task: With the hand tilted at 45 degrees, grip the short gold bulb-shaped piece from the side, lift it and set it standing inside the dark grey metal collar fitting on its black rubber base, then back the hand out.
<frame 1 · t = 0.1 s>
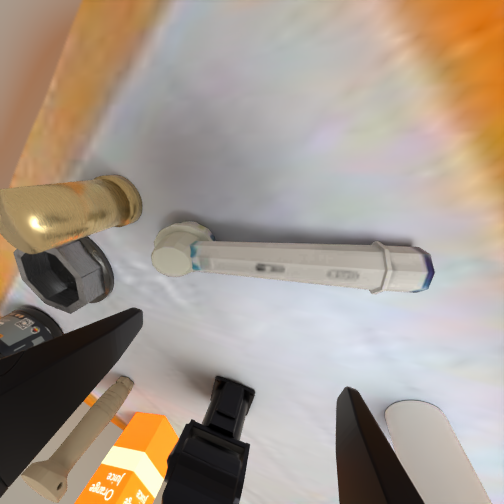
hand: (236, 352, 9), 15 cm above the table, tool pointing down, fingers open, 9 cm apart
collar fitting: (78, 265, 31), on the table
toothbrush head: (278, 247, 23), on the table
gold bulb-shaped piece: (121, 200, 25), on the table
orange juice: (159, 425, 46), on the table
spray bottle: (413, 415, 27), on the table
handle: (128, 380, 41), on the table
supplement container: (44, 326, 41), on the table
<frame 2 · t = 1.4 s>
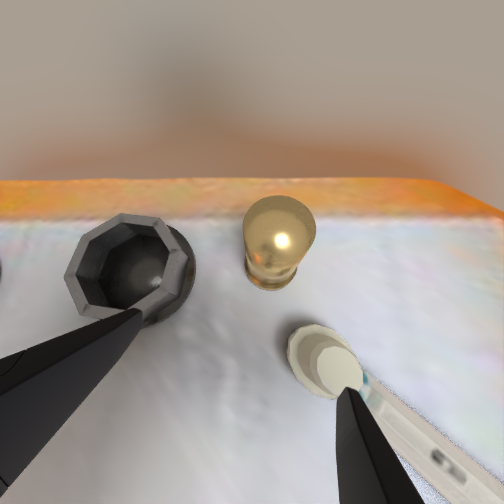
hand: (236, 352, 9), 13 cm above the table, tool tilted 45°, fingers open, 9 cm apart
collar fitting: (143, 272, 24), on the table
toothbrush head: (400, 431, 19), on the table
gold bulb-shaped piece: (270, 265, 24), on the table
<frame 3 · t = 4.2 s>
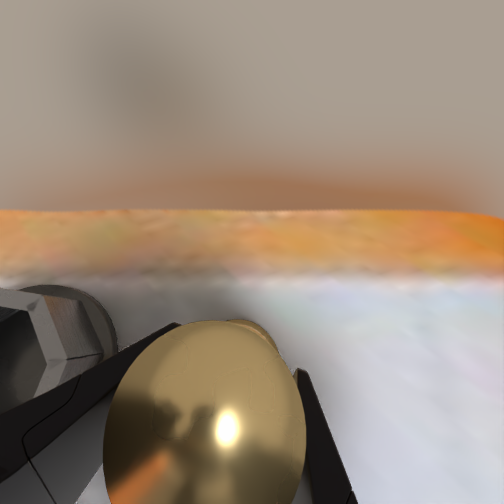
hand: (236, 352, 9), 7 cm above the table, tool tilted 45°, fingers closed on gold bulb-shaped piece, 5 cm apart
collar fitting: (30, 372, 15), on the table
gold bulb-shaped piece: (238, 362, 15), on the table, touching gripper
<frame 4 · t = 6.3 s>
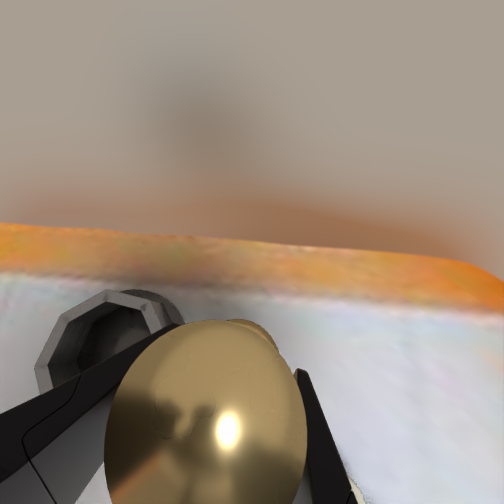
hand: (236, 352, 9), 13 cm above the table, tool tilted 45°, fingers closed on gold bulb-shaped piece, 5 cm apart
collar fitting: (128, 350, 21), on the table
gold bulb-shaped piece: (238, 362, 15), point 7 cm above the table, touching gripper
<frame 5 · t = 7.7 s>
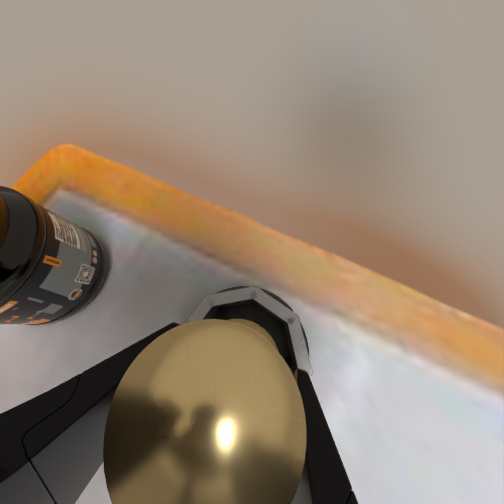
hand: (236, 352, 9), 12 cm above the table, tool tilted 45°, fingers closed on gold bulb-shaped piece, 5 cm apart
collar fitting: (243, 350, 20), on the table
gold bulb-shaped piece: (238, 361, 15), point 6 cm above the table, touching gripper
supplement container: (65, 274, 23), on the table
when the fingers open (8 cm above the table, at t = 8.9 s): gold bulb-shaped piece stays where it is, resting on collar fitting.
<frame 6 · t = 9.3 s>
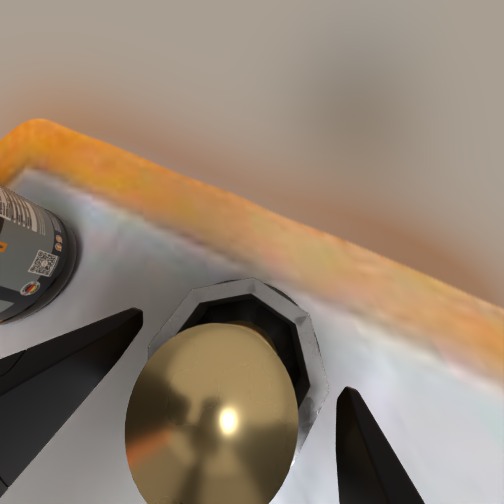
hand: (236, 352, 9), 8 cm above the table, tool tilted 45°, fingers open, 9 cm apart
collar fitting: (239, 358, 16), on the table
gold bulb-shaped piece: (239, 361, 16), point 1 cm above the table, touching collar fitting
supplement container: (27, 266, 19), on the table
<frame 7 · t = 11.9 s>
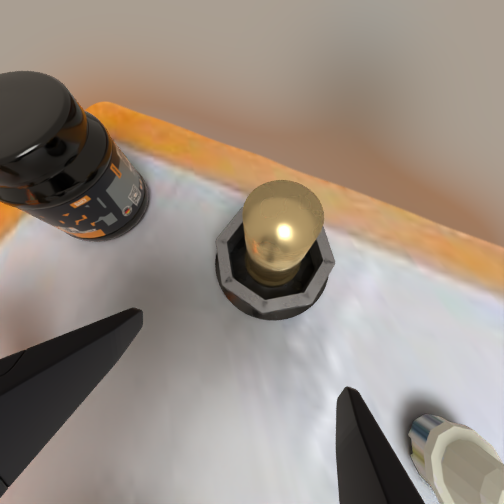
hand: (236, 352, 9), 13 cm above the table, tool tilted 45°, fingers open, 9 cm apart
collar fitting: (271, 263, 23), on the table
gold bulb-shaped piece: (271, 261, 22), point 1 cm above the table, touching collar fitting
supplement container: (110, 206, 26), on the table
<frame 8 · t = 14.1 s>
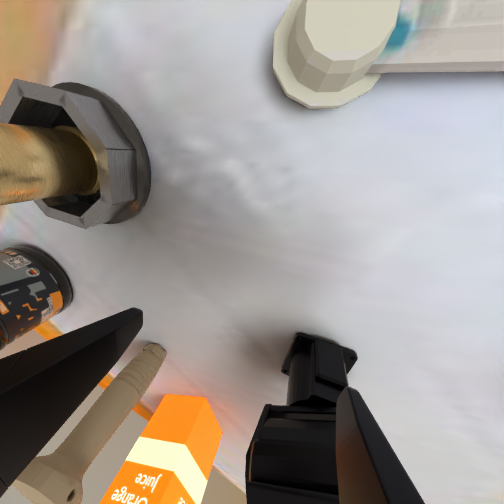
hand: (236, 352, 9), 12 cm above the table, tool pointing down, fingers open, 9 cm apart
collar fitting: (95, 161, 21), on the table
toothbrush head: (503, 53, 12), on the table
gold bulb-shaped piece: (89, 162, 20), point 1 cm above the table, touching collar fitting
orange juice: (195, 412, 35), on the table
handle: (158, 349, 31), on the table
supplement container: (46, 276, 30), on the table
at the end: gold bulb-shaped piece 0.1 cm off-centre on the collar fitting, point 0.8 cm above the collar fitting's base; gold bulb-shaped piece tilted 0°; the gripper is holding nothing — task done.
